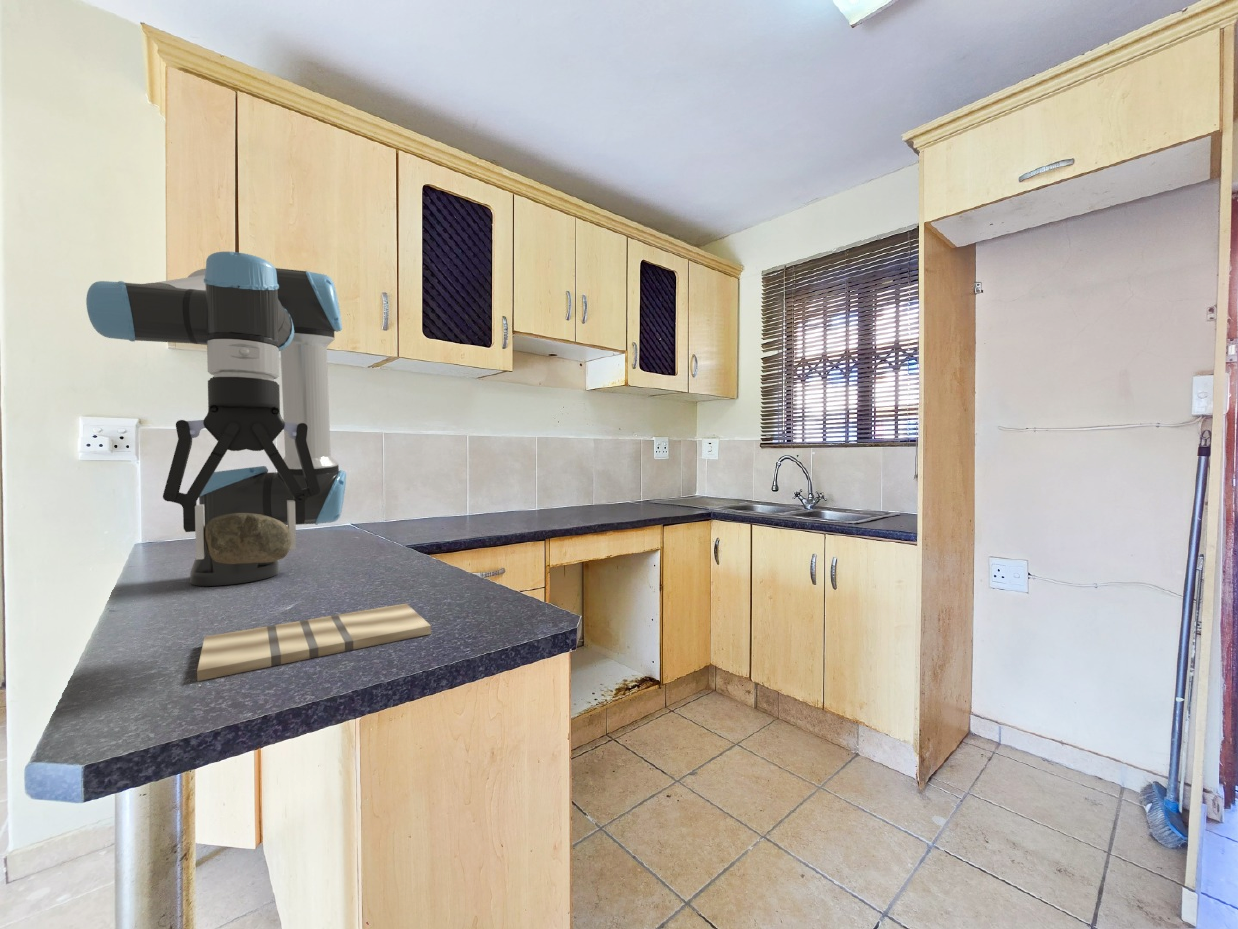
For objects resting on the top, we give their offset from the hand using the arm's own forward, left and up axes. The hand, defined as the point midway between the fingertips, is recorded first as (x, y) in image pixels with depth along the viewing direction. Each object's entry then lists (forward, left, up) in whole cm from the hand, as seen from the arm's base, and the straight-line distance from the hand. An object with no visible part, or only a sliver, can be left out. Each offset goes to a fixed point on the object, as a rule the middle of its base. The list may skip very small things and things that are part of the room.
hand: (248, 553), depth 68 cm
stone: (-1, 0, -1) cm, 2 cm away
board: (0, +8, -13) cm, 15 cm away
